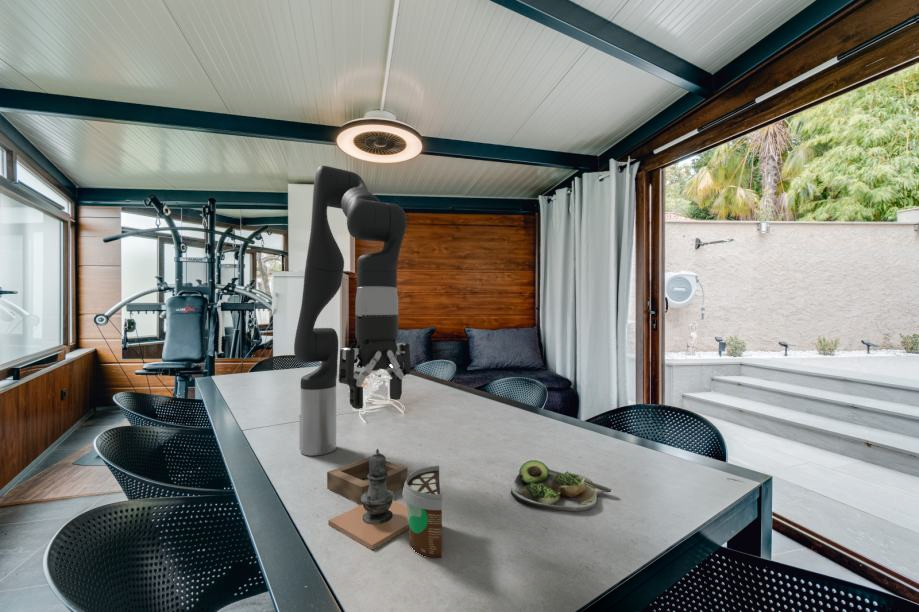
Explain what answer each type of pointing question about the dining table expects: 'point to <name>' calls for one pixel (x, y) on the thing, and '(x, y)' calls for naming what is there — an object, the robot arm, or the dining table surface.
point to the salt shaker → (377, 492)
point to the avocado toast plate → (553, 488)
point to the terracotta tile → (369, 533)
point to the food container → (424, 511)
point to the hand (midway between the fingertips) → (377, 403)
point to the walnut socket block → (350, 477)
